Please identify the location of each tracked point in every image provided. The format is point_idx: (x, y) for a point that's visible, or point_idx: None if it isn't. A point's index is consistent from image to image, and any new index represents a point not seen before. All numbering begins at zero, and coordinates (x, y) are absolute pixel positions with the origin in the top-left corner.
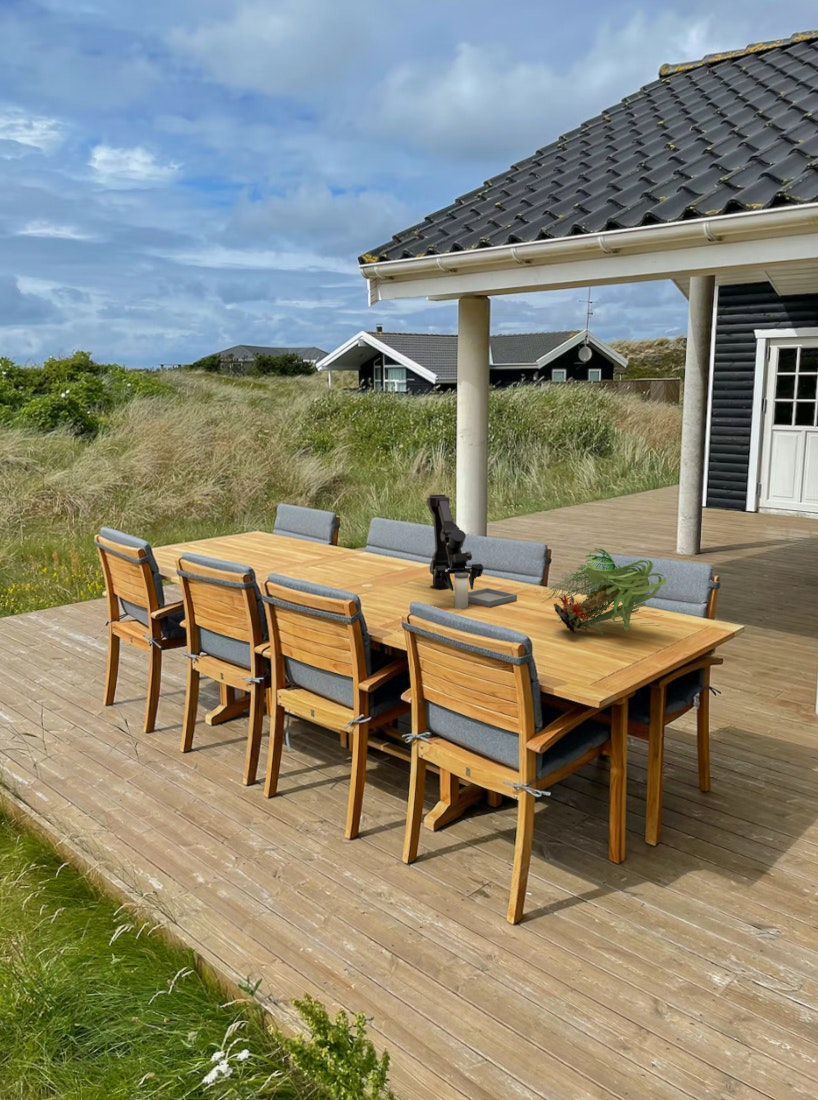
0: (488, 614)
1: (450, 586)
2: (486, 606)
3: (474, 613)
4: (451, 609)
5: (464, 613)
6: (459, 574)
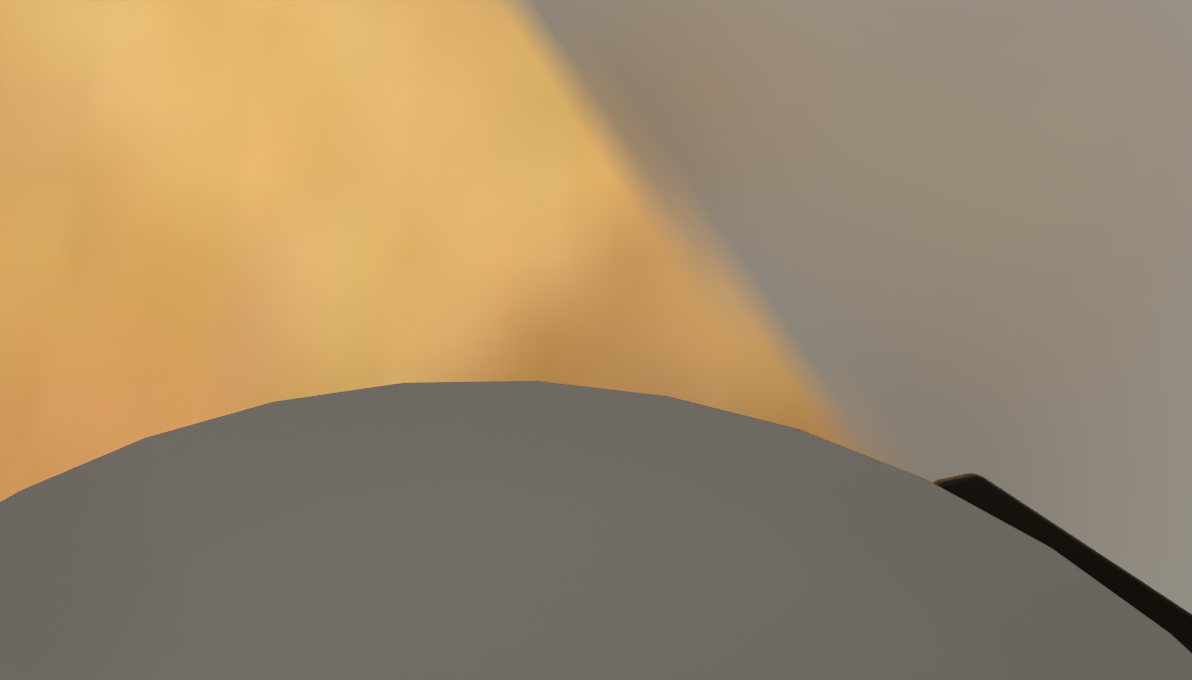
0: (95, 20)
1: None
2: None
3: (361, 96)
4: (825, 424)
5: (563, 98)
6: (826, 452)
